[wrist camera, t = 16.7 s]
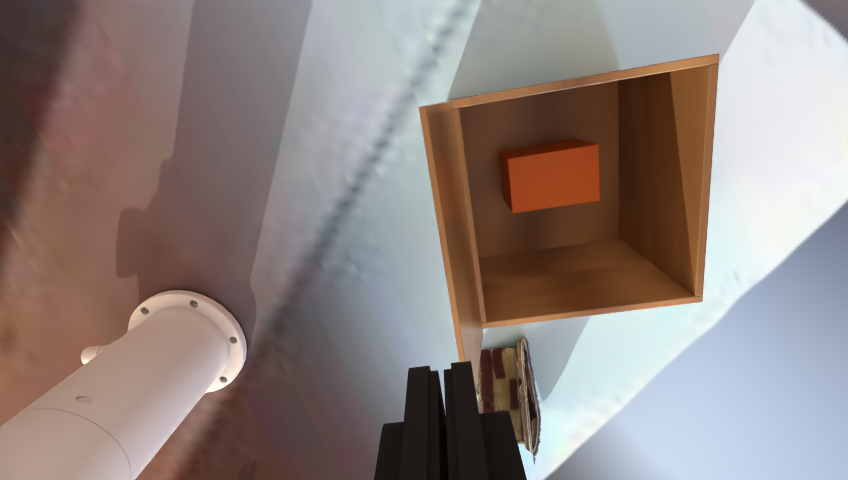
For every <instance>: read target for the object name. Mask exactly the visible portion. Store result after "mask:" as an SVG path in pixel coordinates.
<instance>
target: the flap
mask: <svg viewBox="0 0 848 480" xmlns="http://www.w3.org/2000/svg"><path fill="white" fill-rule="evenodd" d="M419 111H420V118H421V124H422V130H423V136H424V143H425V149H426V155H427V161H428V167H429V174H430V180H431V186H432V192H433V199H434V205H435V211H436V217H437V224H438V230H439V236H440V242H441V249H442V255H443V261H444V267H445V274H446V280H447V286H448V292H449V299H450V305H451V311H452V317H453V324H454V330H455V336H456V342H457V348H458V355H459V361H460V362H465V361H471V363H472V370H473V376H474V383H475V389H476V387H477V379H478V371H479V363H480V355H481V347H482V339H483V328H482V321H481V313H480V306H479V298H478V291H477V283H476V276H475V268H474V261H473V253H472V246H471V238H470V231H469V224H468V216H467V209H466V201H465V194H464V186H463V179H462V171H461V164H460V156H459V149H458V141H457V134H456V126H455V119H454V111H453V104H452V101H448V102H443V103H437V104H432V105H427V106H422V107H419Z"/></svg>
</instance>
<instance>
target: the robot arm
mask: <svg viewBox="0 0 848 480" xmlns="http://www.w3.org/2000/svg"><path fill="white" fill-rule="evenodd" d="M246 353H247V347H246V340H245V336H244V333H243V331H242V329H241V327H240V325H239V323H238V322H237V321H236V319H235V318H234V317H233V315H232V314H231V313H230V312H229V311H228V310H226V309H225V308H224V307H223V306H222V305H220V304H219V303H217V302H216V301H214V300H213V299H211V298H208V297H206V296H204V295H202V294H198V293H195V292H192V291H184V290H170V291H165V292H161V293H158V294H156V295H154V296H152V297H150V298H149V299H147V300H146V301H144V302H143V303H141V304H140V305H139V306H138V307H137V308H136V309H135V311H134V312H133V314H132V316H131V318H130V321H129V325H128V333H126V334H125V335H124V336H122V337H121V338H120V339H118V340H116V341H114V342H112V343H111V344H110V345H100V346H93V347H87V348H86V349H84V350H83V352H82V354H81V360H82V363H84V365H83V366H82V367H80V368H79V369H78V370H76V371H75V372H74V373H72V374H71V375H70V376H68V377H67V378H66V379H64V380H63V381H62V382H60V383H59V384H57V385H56V386H55V387H53V388H52V389H51V390H49V391H48V392H47V393H45V394H44V395H43V396H41V397H40V398H39V399H37V400H36V401H35V402H33V403H32V404H30V405H29V406H28V407H26V408H25V409H24V410H22V411H21V412H20V413H18V414H17V415H16V416H14V417H13V418H12V419H10V420H9V421H8V422H6V423H5V424H4V425H2V426H1V427H0V480H135V479H136V478H137V477H138V475H139V474H140V473H141V472H142V470H143V469H144V468H145V467H146V465H147V464H148V463H149V462H150V460H151V459H152V458H153V457H154V455H155V454H156V453H157V452H158V450H159V449H160V448H161V447H162V446H163V444H164V443H165V442H166V441H167V439H168V438H169V437H170V436H171V434H172V433H173V432H174V431H175V429H176V428H177V427H178V426H179V424H180V423H181V422H182V421H183V419H184V418H185V417H186V416H187V414H188V413H189V412H190V411H191V410H192V408H193V407H194V406H195V405H196V403H197V402H198V401H199V400H200V398H201V397H202V396H203V395H204V393H207V392H211V391H216V390H218V389H220V388H223V387H225V386H226V385H228V384H229V383H230V382H232V380H233V379H234V378H235V377H236V376H237V375H238V373H239V372H240V370H241V369H242V367H243V365H244V362H245V360H246ZM444 386H445V408H446V415H445V409H444V404H443V398H442V392H441V386H440V380H439V374H438V371H430V367H429V366H423V367H415V368H409V371H408V381H407V392H406V404H405V415H404V422H397V423H388V424H384V425H383V428H382V432H381V439H380V445H379V452H378V458H377V465H376V471H375V478H374V480H527V479H526V475H525V471H524V467H523V463H522V459H521V455H520V451H519V447H518V443H517V440H516V436H515V432H514V428H513V424H512V420H511V416H510V413H509V410H507V411H497V412H488V413H479V409H478V402H477V396H476V389H475V383H474V376H473V370H472V363H471V361H465V362H457V363H451V369H446V370H444Z"/></svg>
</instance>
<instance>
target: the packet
mask: <svg viewBox="0 0 848 480" xmlns="http://www.w3.org/2000/svg"><path fill="white" fill-rule="evenodd" d="M499 162H500V171H501V181H502V191H503V199H504V201H505V202H506V204H507V205H508V207H509V208H510V210H511V211H512V213H519V212H526V211H533V210H540V209H547V208H554V207H560V206H567V205H574V204H581V203H588V202H595V201H600V178H599V145H598V144H595V143H591V142H588V141H584V140H580V139H572V140H566V141H560V142H553V143H547V144H541V145H535V146H528V147H522V148H516V149H510V150H504V151H499Z"/></svg>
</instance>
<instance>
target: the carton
mask: <svg viewBox="0 0 848 480" xmlns="http://www.w3.org/2000/svg"><path fill="white" fill-rule="evenodd" d="M718 62H719V54H712V55H707V56H701V57H695V58H689V59H683V60H678V61H672V62H666V63H660V64H654V65H649V66H643V67H637V68H631V69H625V70H620V71H614V72H608V73H602V74H597V75H591V76H585V77H579V78H574V79H568V80H562V81H556V82H551V83H545V84H539V85H534V86H528V87H522V88H516V89H511V90H505V91H499V92H493V93H488V94H482V95H476V96H470V97H465V98H459V99H453V100H447V101H446V102H448V101H452V104H453V111H454V119H455V126H456V134H457V141H458V149H459V156H460V164H461V171H462V179H463V186H464V194H465V201H466V209H467V216H468V224H469V231H470V238H471V246H472V253H473V261H474V268H475V276H476V283H477V291H478V298H479V306H480V313H481V321H482V328H483V329H485V328H493V327H501V326H509V325H518V324H526V323H534V322H542V321H550V320H559V319H567V318H575V317H583V316H591V315H599V314H608V313H616V312H624V311H632V310H640V309H649V308H657V307H665V306H673V305H681V304H690V303H698V302H702V298H703V296H702V295H703V283H704V269H705V254H706V240H707V225H708V210H709V196H710V181H711V167H712V152H713V138H714V123H715V109H716V94H717V80H718V65H719V64H718ZM572 139H580V140H584V141H588V142H591V143H595V144H598V145H599V178H600V201H595V202H588V203H581V204H574V205H567V206H560V207H554V208H547V209H540V210H533V211H526V212H519V213H512V211H511V210H510V208H509V207H508V205H507V204H506V202H505V201H504V199H503V191H502V181H501V171H500V162H499V151H504V150H510V149H516V148H522V147H528V146H535V145H541V144H547V143H553V142H560V141H566V140H572Z"/></svg>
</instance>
